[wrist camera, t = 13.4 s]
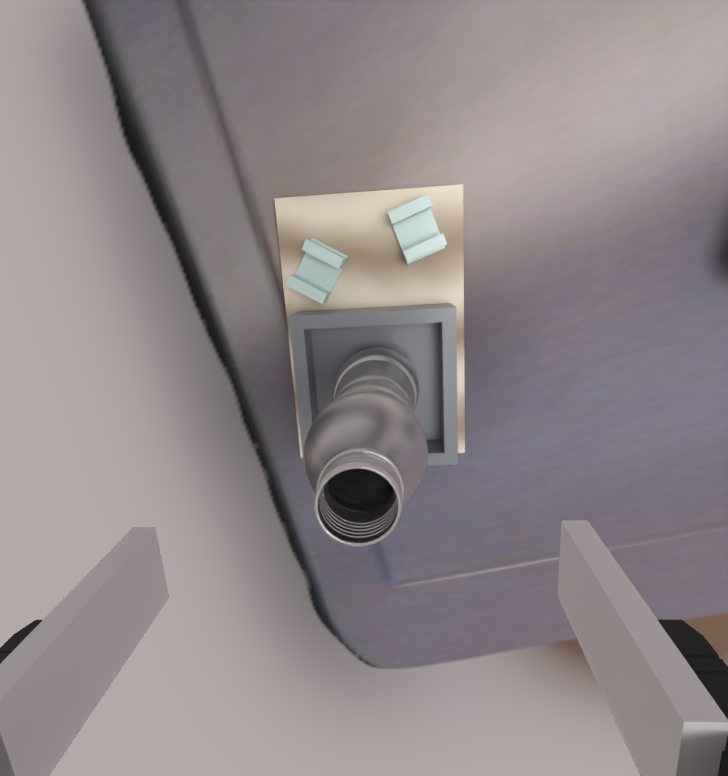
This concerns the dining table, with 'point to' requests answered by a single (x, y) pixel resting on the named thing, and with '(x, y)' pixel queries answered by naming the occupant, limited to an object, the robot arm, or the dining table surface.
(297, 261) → the board
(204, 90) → the dining table surface
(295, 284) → the clip
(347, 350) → the holder
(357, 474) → the plastic bottle
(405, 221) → the clip
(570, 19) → the dining table surface
